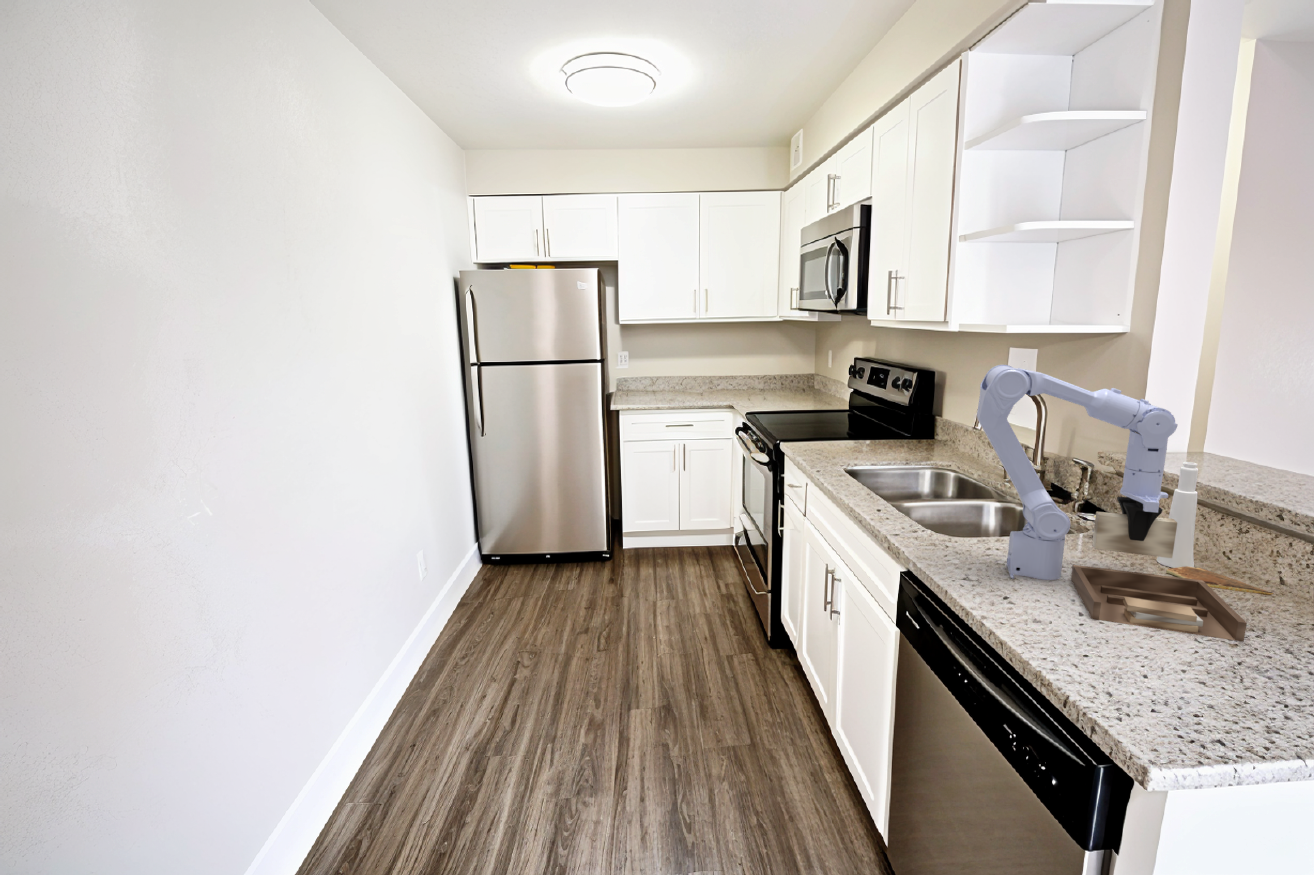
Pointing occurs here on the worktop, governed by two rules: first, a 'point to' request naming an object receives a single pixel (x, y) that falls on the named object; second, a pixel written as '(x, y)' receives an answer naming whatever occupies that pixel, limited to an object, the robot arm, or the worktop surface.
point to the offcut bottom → (1160, 623)
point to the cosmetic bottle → (1183, 518)
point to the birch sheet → (1116, 538)
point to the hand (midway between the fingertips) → (1134, 537)
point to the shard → (1214, 579)
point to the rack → (1155, 599)
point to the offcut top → (1160, 609)
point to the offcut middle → (1166, 619)
